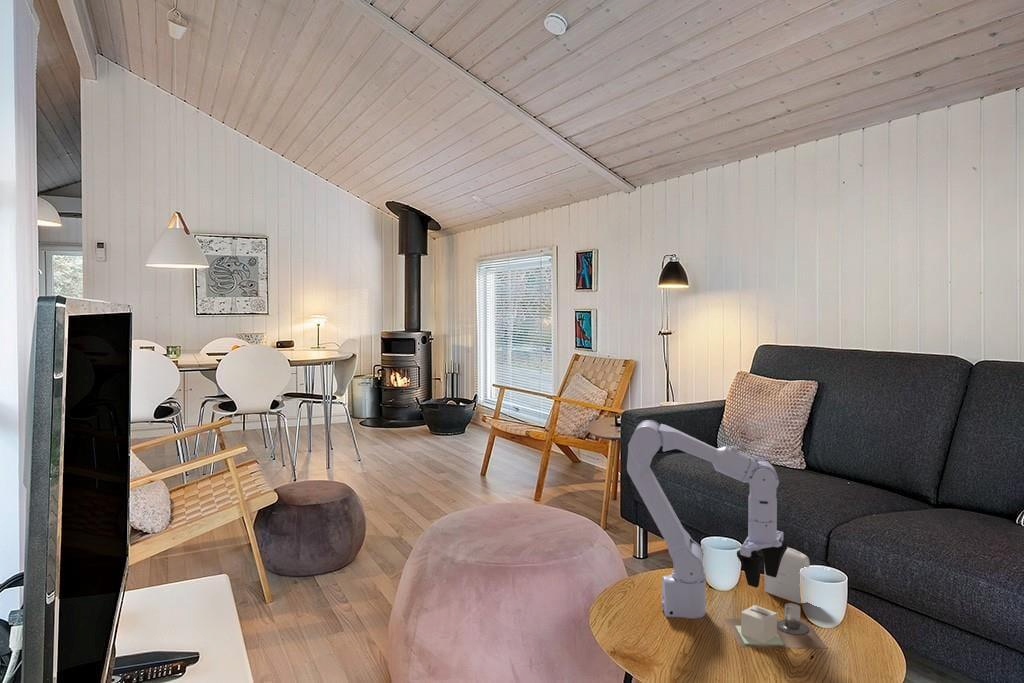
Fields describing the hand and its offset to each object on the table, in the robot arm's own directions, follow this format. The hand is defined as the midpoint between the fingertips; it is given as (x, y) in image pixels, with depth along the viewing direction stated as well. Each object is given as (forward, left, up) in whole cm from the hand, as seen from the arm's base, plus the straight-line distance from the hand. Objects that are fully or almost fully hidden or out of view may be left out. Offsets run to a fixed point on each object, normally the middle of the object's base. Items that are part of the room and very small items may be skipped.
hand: (762, 580), depth 145 cm
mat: (-3, -8, -8) cm, 12 cm away
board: (0, -7, -9) cm, 11 cm away
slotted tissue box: (-3, -8, -8) cm, 12 cm away
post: (+5, -4, -8) cm, 10 cm away
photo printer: (+9, +12, -10) cm, 18 cm away
